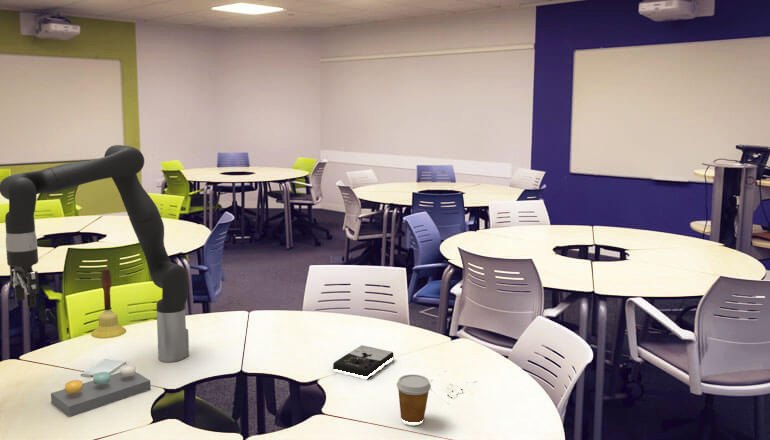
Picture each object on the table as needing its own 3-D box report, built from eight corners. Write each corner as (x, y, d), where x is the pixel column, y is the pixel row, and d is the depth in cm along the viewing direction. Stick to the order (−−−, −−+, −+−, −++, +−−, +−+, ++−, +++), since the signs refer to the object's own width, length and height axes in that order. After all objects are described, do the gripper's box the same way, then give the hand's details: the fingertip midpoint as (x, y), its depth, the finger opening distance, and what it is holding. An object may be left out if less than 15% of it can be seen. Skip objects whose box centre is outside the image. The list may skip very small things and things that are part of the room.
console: (131, 377, 198) (130, 369, 198) (150, 389, 191) (150, 380, 190) (51, 402, 181) (50, 393, 180) (69, 416, 173) (68, 406, 172)
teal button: (105, 377, 188) (105, 370, 188) (112, 381, 185) (112, 375, 185) (90, 381, 185) (90, 375, 184) (97, 386, 182) (97, 379, 181)
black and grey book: (332, 373, 208) (332, 358, 207) (361, 354, 225) (361, 340, 224) (366, 381, 202) (367, 367, 201) (393, 361, 219) (394, 348, 218)
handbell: (93, 328, 241) (90, 265, 237) (127, 326, 245) (125, 264, 241) (88, 339, 230) (85, 273, 225) (124, 337, 233) (122, 271, 229)
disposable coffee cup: (427, 413, 181) (429, 373, 179) (430, 429, 172) (432, 388, 170) (394, 412, 181) (395, 373, 179) (396, 429, 171) (397, 388, 169)
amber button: (78, 385, 182) (78, 378, 182) (85, 389, 179) (84, 383, 179) (62, 389, 179) (62, 383, 178) (69, 394, 176) (68, 388, 175)
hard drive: (104, 358, 211) (80, 373, 198) (126, 360, 209) (103, 375, 197) (104, 363, 211) (80, 377, 199) (126, 365, 209) (103, 380, 197)
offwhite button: (131, 369, 194) (130, 363, 194) (138, 373, 191) (137, 367, 191) (117, 373, 191) (116, 367, 190) (124, 377, 188) (124, 371, 187)
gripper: (46, 249, 173) (50, 306, 175) (26, 241, 182) (30, 295, 184) (16, 254, 167) (21, 312, 170) (-3, 245, 176) (2, 300, 179)
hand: (26, 303), depth 177 cm, fingers open, 8 cm apart
